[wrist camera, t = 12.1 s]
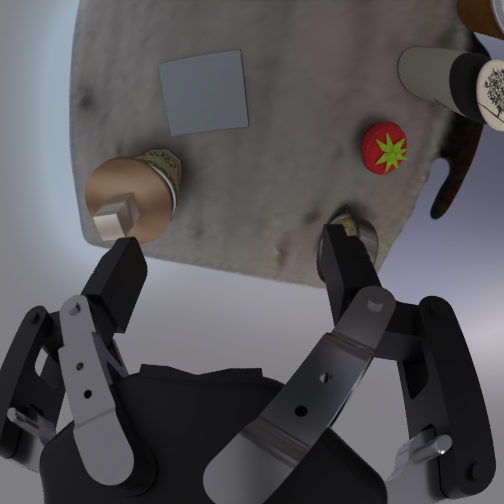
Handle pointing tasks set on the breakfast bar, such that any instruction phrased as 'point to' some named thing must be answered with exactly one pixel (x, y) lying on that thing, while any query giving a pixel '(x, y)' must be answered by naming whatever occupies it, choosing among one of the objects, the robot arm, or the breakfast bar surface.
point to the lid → (129, 200)
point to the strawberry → (383, 147)
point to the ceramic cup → (165, 170)
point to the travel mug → (456, 82)
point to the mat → (204, 93)
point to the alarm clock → (353, 227)
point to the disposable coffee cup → (483, 16)
